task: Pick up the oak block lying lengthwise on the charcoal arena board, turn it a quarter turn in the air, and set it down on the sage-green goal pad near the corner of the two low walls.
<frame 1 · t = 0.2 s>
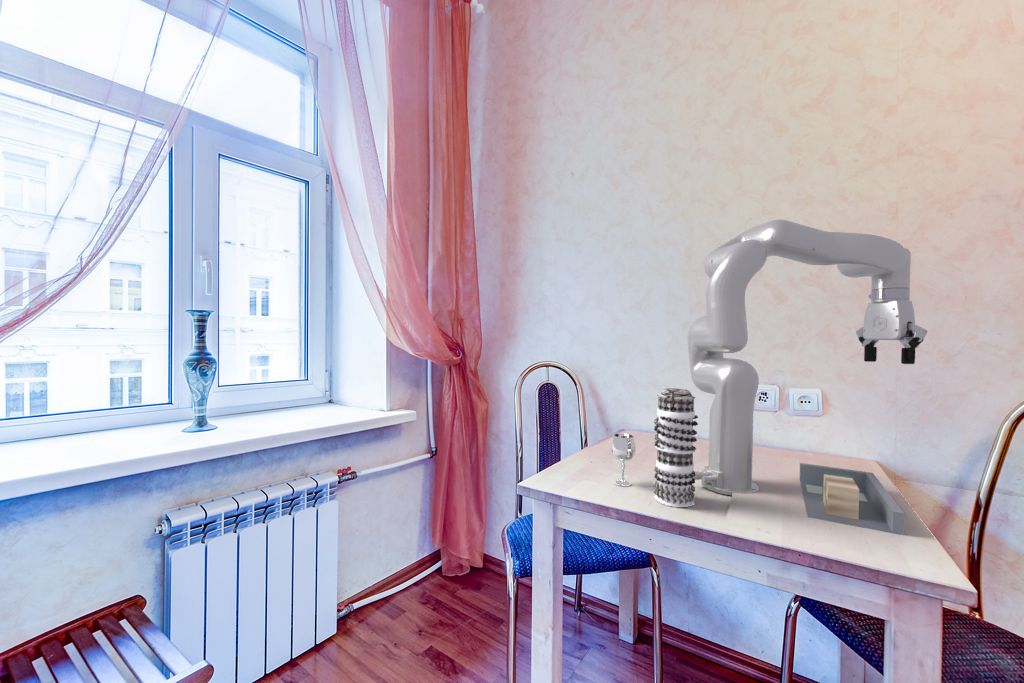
hand: (888, 362, 112), 31 cm above the table, tool pointing down, fingers open, 9 cm apart
oak block: (839, 508, 91), point 1 cm above the table, touching arena
arena: (838, 511, 92), on the table
wineglass: (622, 484, 108), on the table
decorative candle: (674, 501, 97), on the table
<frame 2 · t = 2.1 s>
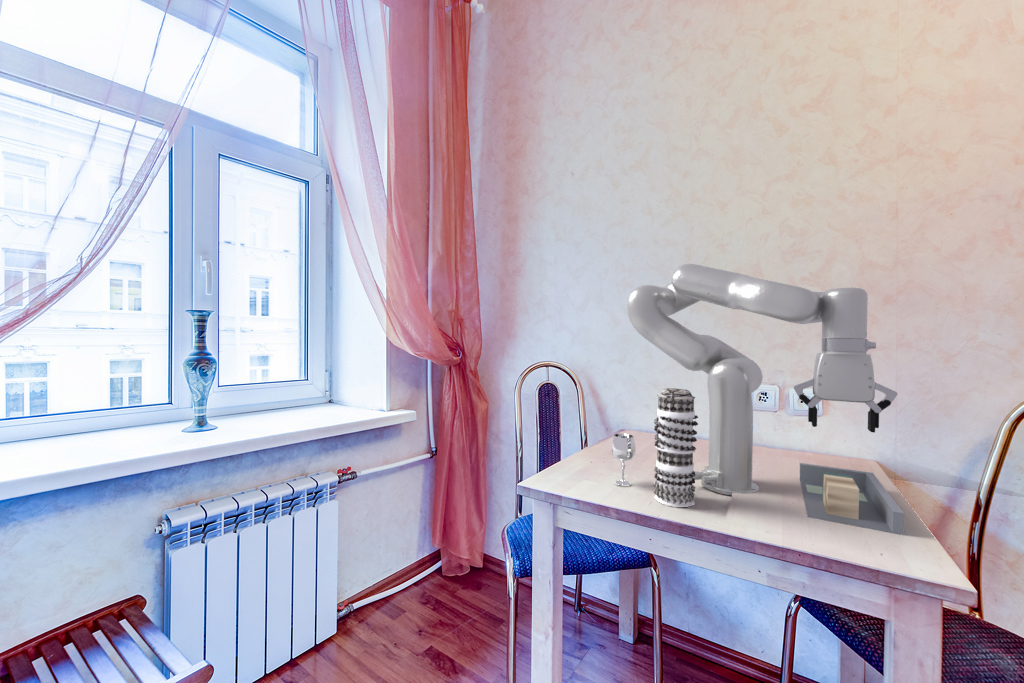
hand: (842, 428, 91), 18 cm above the table, tool pointing down, fingers open, 9 cm apart
nothing on the table moved.
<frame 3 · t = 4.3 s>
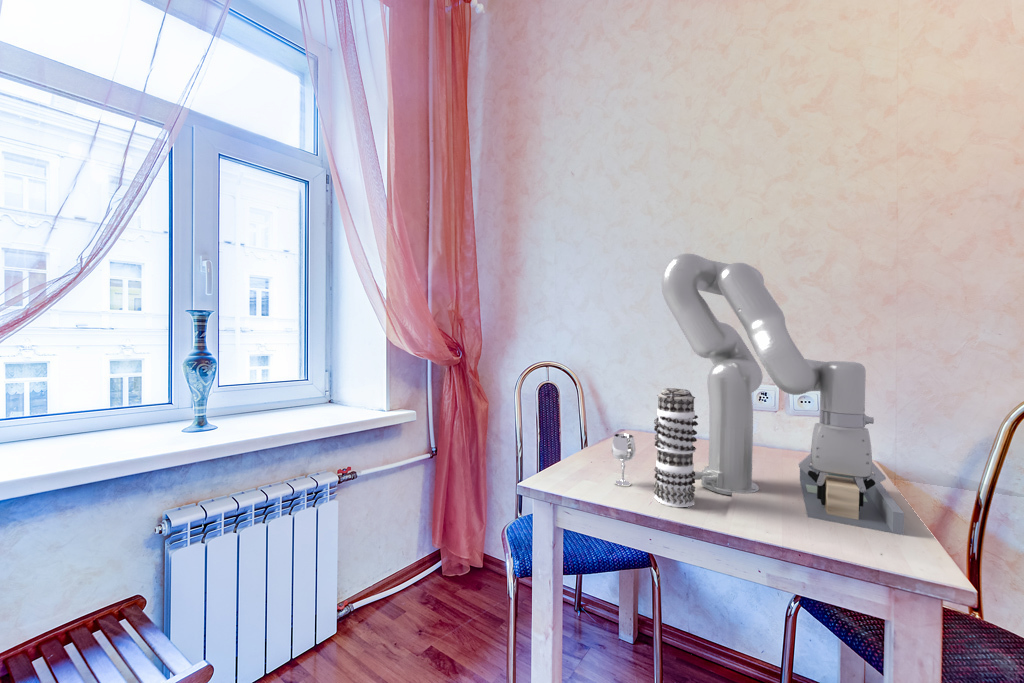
hand: (839, 505, 91), 2 cm above the table, tool pointing down, fingers closed on oak block, 5 cm apart
oak block: (839, 508, 91), point 1 cm above the table, touching arena, gripper
everything else where it was.
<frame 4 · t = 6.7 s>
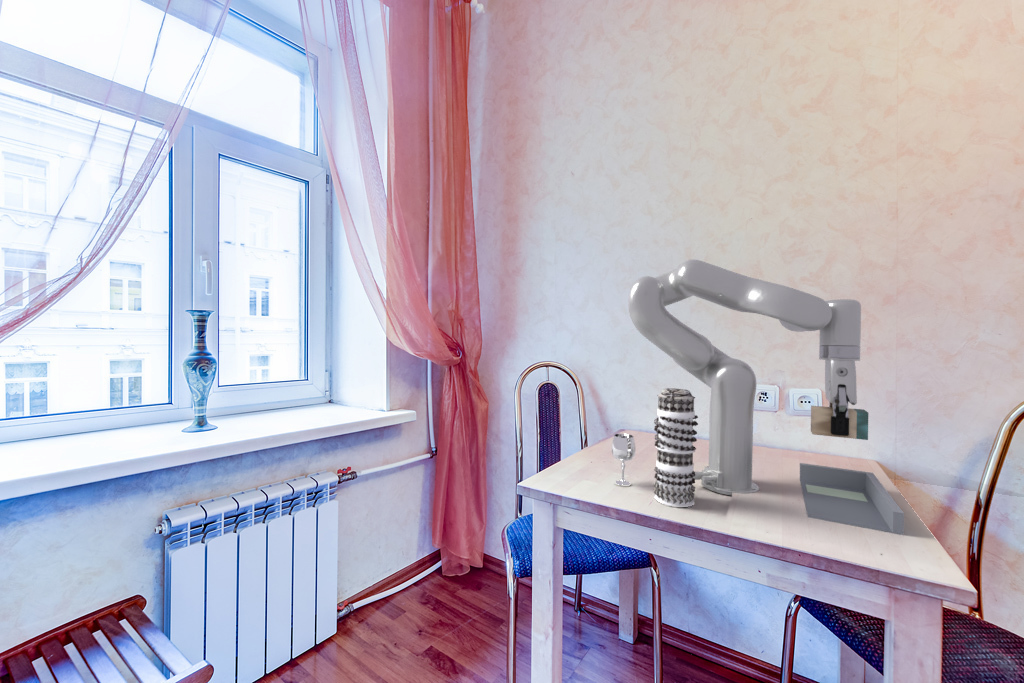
hand: (837, 431, 99), 15 cm above the table, tool pointing down, fingers closed on oak block, 5 cm apart
oak block: (837, 435, 99), point 15 cm above the table, touching gripper
everything else where it was.
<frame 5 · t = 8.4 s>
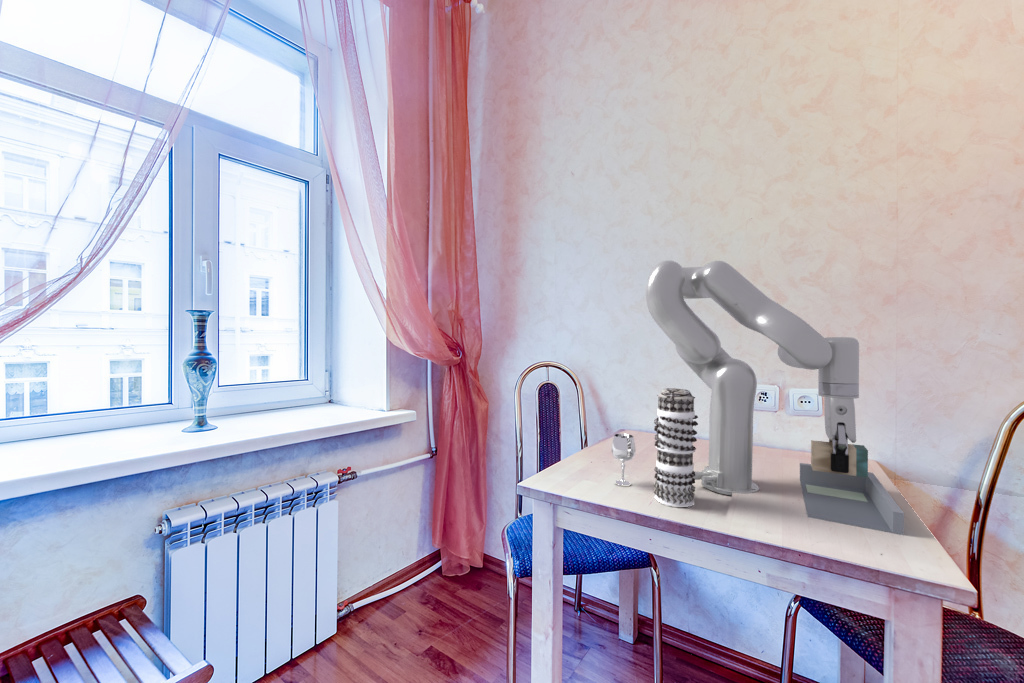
hand: (837, 467, 100), 7 cm above the table, tool pointing down, fingers closed on oak block, 5 cm apart
oak block: (838, 470, 100), point 6 cm above the table, touching gripper
everything else where it was.
when the fingers open (3 cm above the table, at t = 9.5 s): oak block drops 2 cm, resting on arena.
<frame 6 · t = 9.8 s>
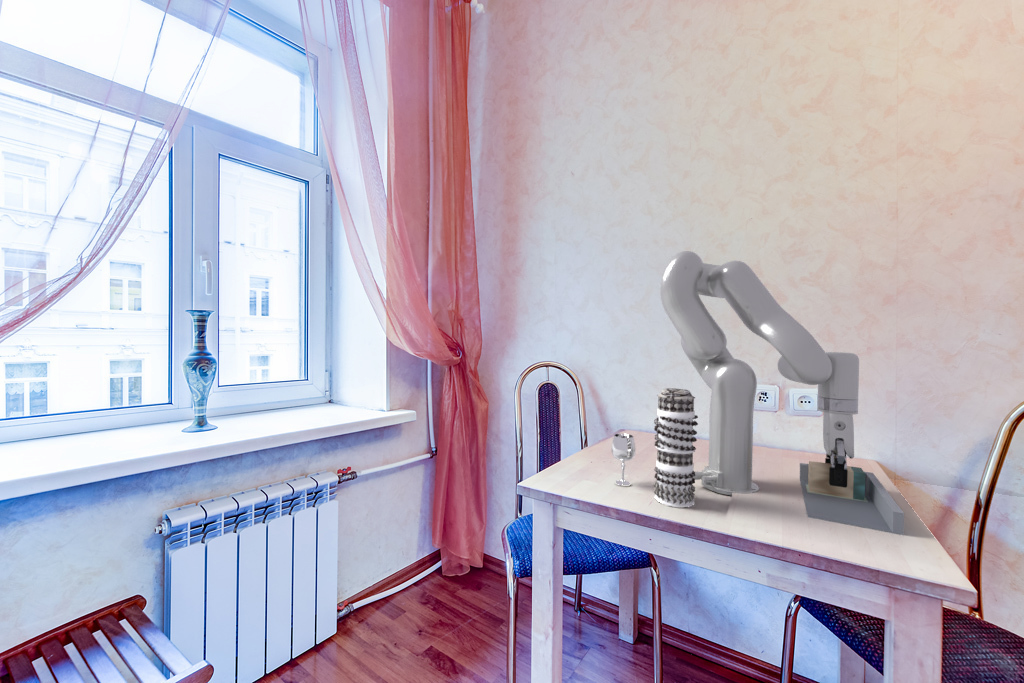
hand: (835, 480, 100), 4 cm above the table, tool pointing down, fingers open, 8 cm apart
oak block: (834, 492, 100), point 1 cm above the table, touching arena
everything else where it was.
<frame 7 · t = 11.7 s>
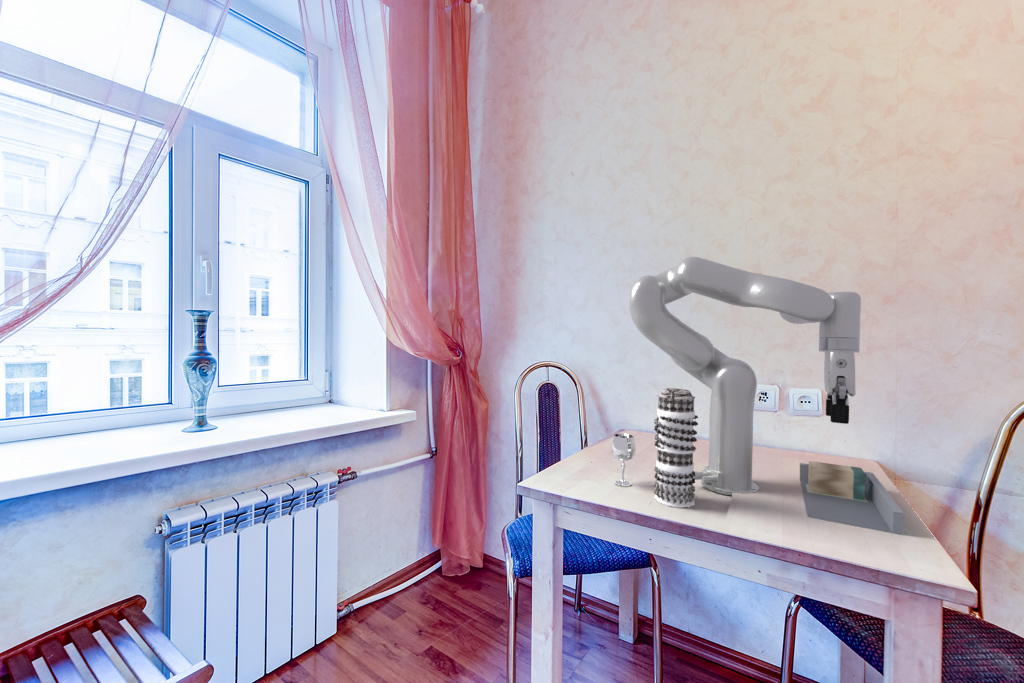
hand: (836, 419, 100), 18 cm above the table, tool pointing down, fingers open, 9 cm apart
nothing on the table moved.
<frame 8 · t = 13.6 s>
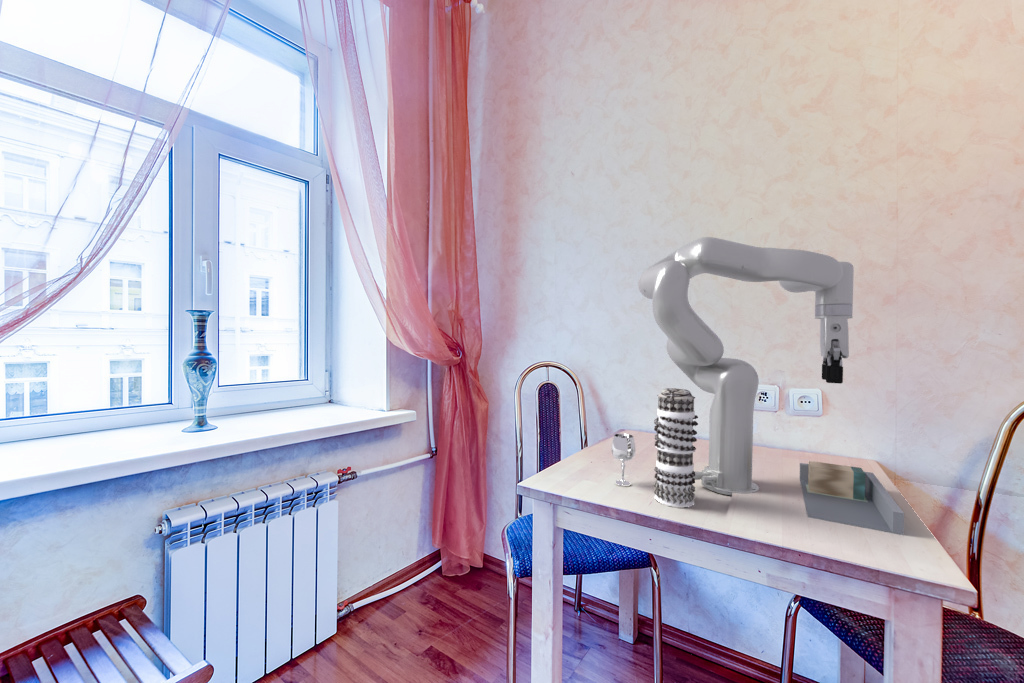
hand: (831, 381, 107), 26 cm above the table, tool pointing down, fingers open, 9 cm apart
nothing on the table moved.
at the end: oak block 0.1 cm from the target spot, point 1.1 cm above the table; oak block tilted 0°; the gripper is holding nothing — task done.
